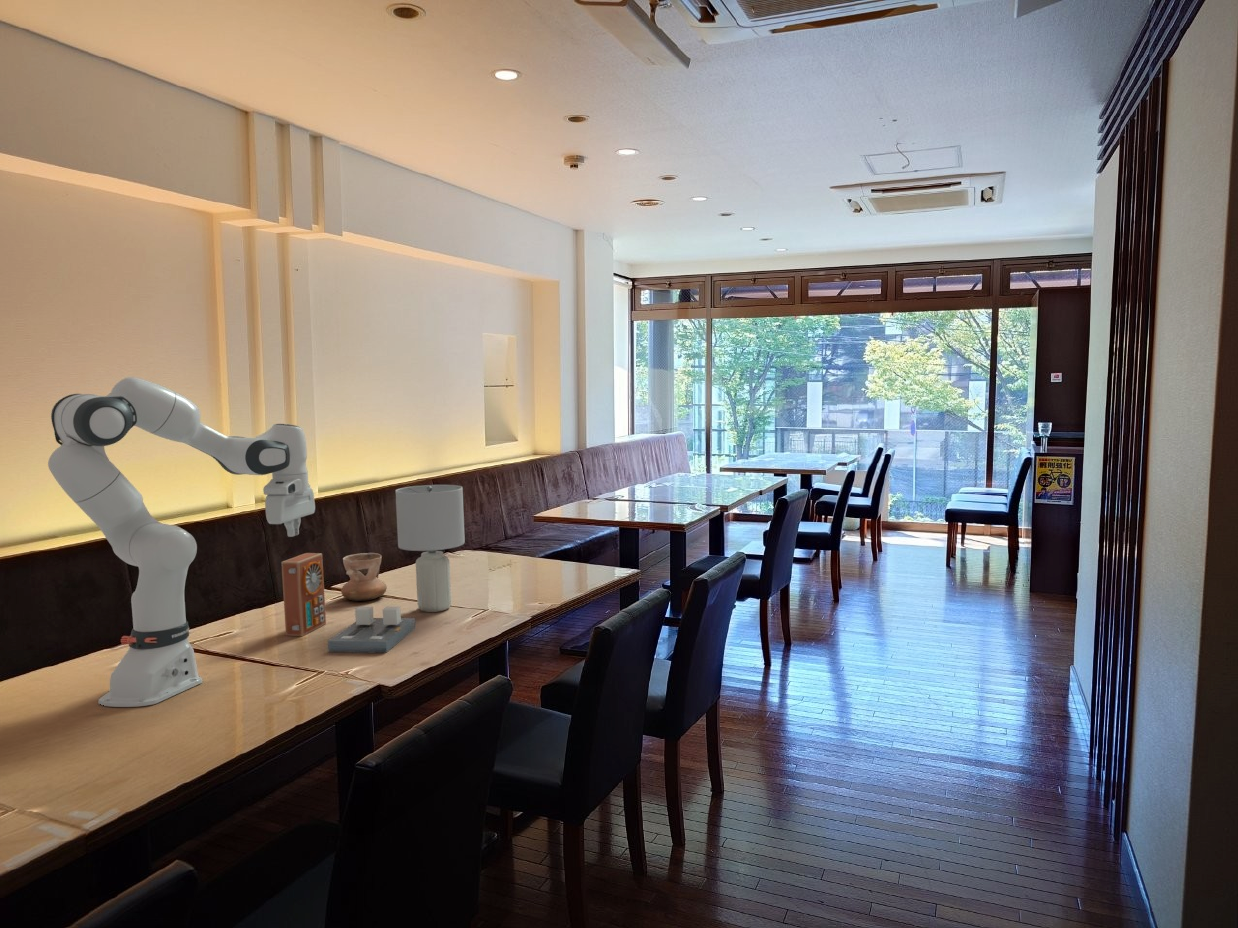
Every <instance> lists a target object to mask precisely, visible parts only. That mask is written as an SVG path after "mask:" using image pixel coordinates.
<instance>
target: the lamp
mask: <svg viewBox="0 0 1238 928" xmlns="http://www.w3.org/2000/svg"><path fill="white" fill-rule="evenodd" d="M463 491H464V489H463V486H461V485H458V484H456V485H455V484H426V485H424V484H423V485H414V486H405V487H401V488H397V489H395V509H396V510H395V511H396V527H397V547H398V549H400V550H404V551H410V552H411V551H413V552H422V553H421V554H420V557H418V558H417V559H416V560H415V576H416V577H415V581H416V598H417V599H416V601H417V602H416V603H417V607H418V609H419V610H420V611H422V612H425V613H436V612H438V613H439V612H444V611H445V610H448V609H449V608H450V606H451V605H452V591H451V590H452V589H451V568H450V567H451V566H450V563H451V562H450V559H449V557H448V556H447V555H445V554H444V552H443V550H449V549H455V548H458V547H460V546H463V545H464V544H465V540H466V539H465V537H466V536H465V516H464V513H465V512H464V494H463V493H464V492H463Z"/></svg>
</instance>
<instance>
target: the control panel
mask: <svg viewBox="0 0 1238 928" xmlns="http://www.w3.org/2000/svg"><path fill="white" fill-rule="evenodd" d="M280 564H281V576H282V577H281V578H282V591H283V593H282V594H283V595H282V596H283V608H284V611H283V612H284V624H285V625H284V626H285V636H288V637H289V636H290V637H291V636H292V637H304V636H306V635H307V634H309V633H311V632H314V631H315V630H317V629H319V628H321V627H323V626H324V625H326V624H327V618H326V617H327V616H326V599H325V597H326V596H325V582H324V566H323V565H324V564H323V553H319V552H317V553H315V552H306V553H305V552H304V553H302V554H299V555H297V556H294V557H292V558H289V559H286V560H283V561H281V563H280Z"/></svg>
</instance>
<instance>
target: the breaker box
mask: <svg viewBox="0 0 1238 928" xmlns="http://www.w3.org/2000/svg"><path fill="white" fill-rule="evenodd" d="M414 628H415V629H416V619H415V618H414V617H401V622H400V623H399V624H398V625H383V617H374V622H373V623H371V624H370V625H356V621H355V622H353V623H352V624H351V625H349V626H348V627H345V628H344V629H343V630H342V631H340V632H338V633H337V634H336V635H335V636H333V637H331V638H330V639H328V641H327V647H328V648H327V649H328V650H327V651H328V653H371V654H372V653H374V654H375V653H376V652H377V653H376V654H378V653H381V654H382V652H386V653H388V652H389V651H391V650H392V649H393V648H394V647H395V646H396V645H397V644H399V643H400V642H401V641H402V640H403V639H405V638H406V637H407V636H408V635H409V634H410V633H411V632H412V631H413V629H414ZM415 629H414V630H415ZM406 635H407V636H406ZM405 636H406V637H405ZM386 653H385V654H386Z"/></svg>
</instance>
